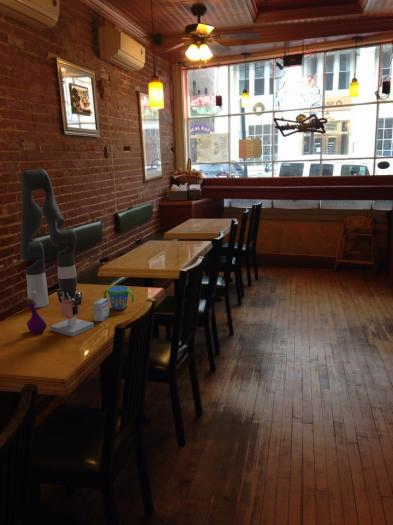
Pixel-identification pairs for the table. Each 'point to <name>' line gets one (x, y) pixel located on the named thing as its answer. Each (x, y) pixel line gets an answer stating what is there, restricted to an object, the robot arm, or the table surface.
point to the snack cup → (119, 296)
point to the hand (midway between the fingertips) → (71, 313)
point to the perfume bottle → (35, 318)
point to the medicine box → (101, 309)
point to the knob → (68, 308)
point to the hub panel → (72, 326)
